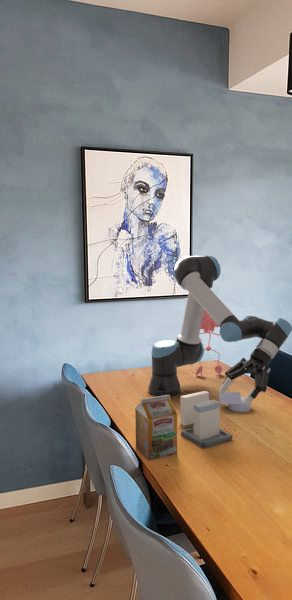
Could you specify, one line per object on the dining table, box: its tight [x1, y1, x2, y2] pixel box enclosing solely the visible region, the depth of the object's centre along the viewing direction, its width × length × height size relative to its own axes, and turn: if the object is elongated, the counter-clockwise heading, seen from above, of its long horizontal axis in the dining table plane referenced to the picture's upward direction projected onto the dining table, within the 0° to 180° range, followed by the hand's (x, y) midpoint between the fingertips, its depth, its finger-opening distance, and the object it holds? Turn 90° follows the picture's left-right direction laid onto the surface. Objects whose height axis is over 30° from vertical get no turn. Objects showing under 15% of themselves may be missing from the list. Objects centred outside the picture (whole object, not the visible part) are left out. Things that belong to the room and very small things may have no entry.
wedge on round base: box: [218, 391, 252, 413], centre depth 199 cm, size 9×7×13 cm
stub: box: [193, 399, 221, 440], centre depth 169 cm, size 4×9×12 cm, turn 122°
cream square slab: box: [179, 390, 211, 430], centre depth 182 cm, size 3×12×12 cm, turn 122°
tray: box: [180, 426, 233, 450], centre depth 170 cm, size 13×13×2 cm
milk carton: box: [134, 395, 178, 461], centre depth 159 cm, size 11×11×19 cm
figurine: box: [188, 310, 223, 379], centre depth 246 cm, size 15×26×35 cm, turn 96°
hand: (232, 398), depth 175 cm, fingers open, 13 cm apart
